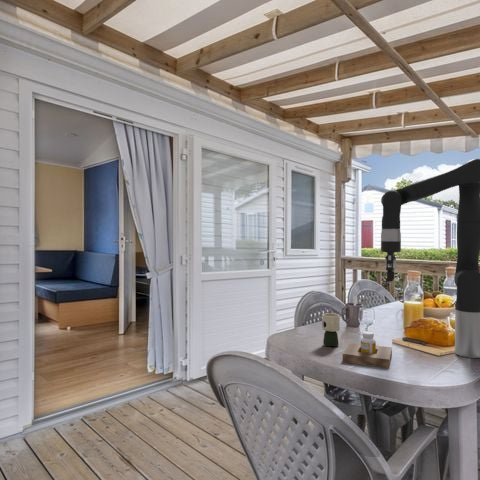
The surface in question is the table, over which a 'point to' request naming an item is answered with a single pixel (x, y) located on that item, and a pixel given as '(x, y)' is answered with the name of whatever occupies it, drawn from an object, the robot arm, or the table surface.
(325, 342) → the character mug
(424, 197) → the robot arm
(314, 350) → the table surface
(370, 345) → the supplement bottle
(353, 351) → the walnut bottle holder
